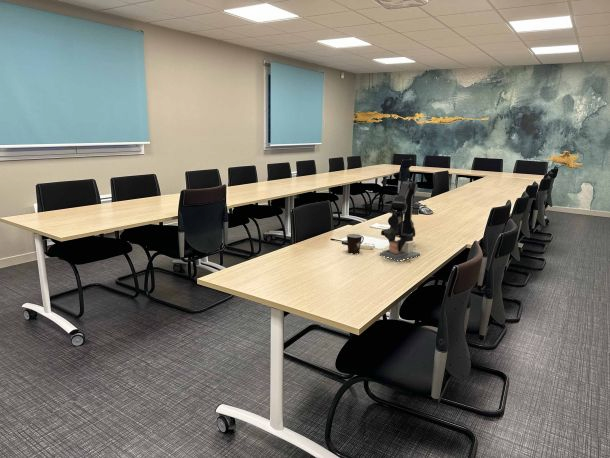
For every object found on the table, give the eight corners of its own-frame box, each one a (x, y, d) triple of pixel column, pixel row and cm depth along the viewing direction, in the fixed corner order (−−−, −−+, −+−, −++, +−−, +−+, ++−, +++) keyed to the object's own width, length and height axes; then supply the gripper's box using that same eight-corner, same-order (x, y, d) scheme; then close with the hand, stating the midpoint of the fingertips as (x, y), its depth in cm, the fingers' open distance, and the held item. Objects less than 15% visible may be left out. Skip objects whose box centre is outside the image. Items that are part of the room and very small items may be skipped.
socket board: (400, 250, 251) (401, 238, 249) (420, 256, 240) (421, 243, 238) (379, 255, 240) (380, 242, 238) (398, 261, 229) (399, 248, 228)
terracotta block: (394, 250, 240) (395, 240, 239) (401, 252, 237) (402, 242, 235) (388, 251, 238) (389, 241, 236) (395, 254, 234) (396, 243, 232)
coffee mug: (349, 254, 240) (350, 237, 238) (344, 250, 248) (344, 234, 246) (368, 253, 243) (369, 236, 241) (362, 249, 251) (363, 233, 249)
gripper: (374, 221, 236) (373, 248, 239) (400, 228, 221) (398, 256, 225) (388, 219, 242) (386, 245, 246) (414, 225, 228) (412, 253, 231)
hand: (395, 250), depth 237 cm, fingers closed on terracotta block, 5 cm apart
